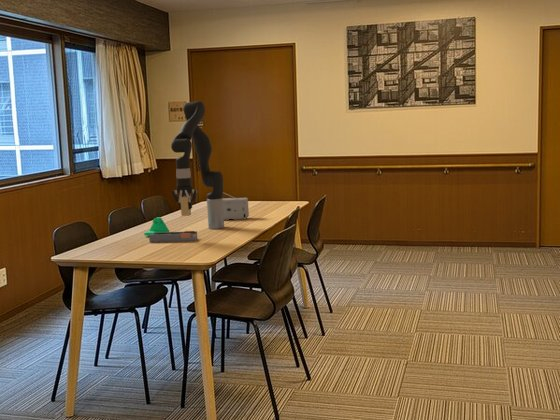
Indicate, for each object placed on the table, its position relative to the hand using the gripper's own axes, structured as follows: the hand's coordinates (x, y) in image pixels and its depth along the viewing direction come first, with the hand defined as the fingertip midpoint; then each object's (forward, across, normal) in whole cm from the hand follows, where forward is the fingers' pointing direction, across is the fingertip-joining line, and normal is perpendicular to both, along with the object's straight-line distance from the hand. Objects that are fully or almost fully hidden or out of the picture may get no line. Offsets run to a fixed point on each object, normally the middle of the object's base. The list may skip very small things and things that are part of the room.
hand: (185, 209), depth 356 cm
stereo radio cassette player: (+17, -8, -70) cm, 72 cm away
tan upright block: (+3, 0, 0) cm, 3 cm away
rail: (+17, +8, 0) cm, 18 cm away
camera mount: (+17, +23, -15) cm, 32 cm away
